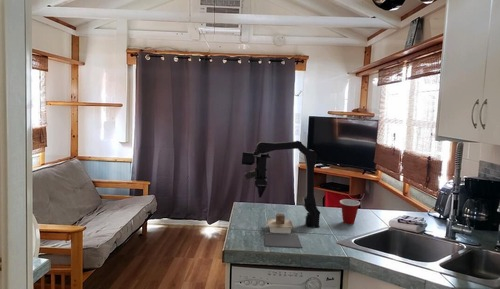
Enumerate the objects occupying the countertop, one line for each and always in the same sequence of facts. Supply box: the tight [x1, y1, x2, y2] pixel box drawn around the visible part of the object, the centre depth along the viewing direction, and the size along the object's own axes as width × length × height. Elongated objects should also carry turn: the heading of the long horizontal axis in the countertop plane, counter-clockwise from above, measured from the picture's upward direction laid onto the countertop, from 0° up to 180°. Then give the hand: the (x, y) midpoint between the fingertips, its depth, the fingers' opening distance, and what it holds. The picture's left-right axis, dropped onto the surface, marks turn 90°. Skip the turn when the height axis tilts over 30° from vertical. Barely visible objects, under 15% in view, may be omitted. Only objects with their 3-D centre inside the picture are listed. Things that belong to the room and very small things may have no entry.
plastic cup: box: [339, 198, 361, 225], centre depth 201 cm, size 11×11×12 cm
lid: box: [267, 213, 294, 229], centre depth 183 cm, size 12×12×5 cm
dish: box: [268, 227, 292, 235], centre depth 183 cm, size 10×10×3 cm
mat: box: [263, 232, 303, 249], centre depth 167 cm, size 16×16×1 cm
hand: (259, 195), depth 192 cm, fingers open, 9 cm apart
